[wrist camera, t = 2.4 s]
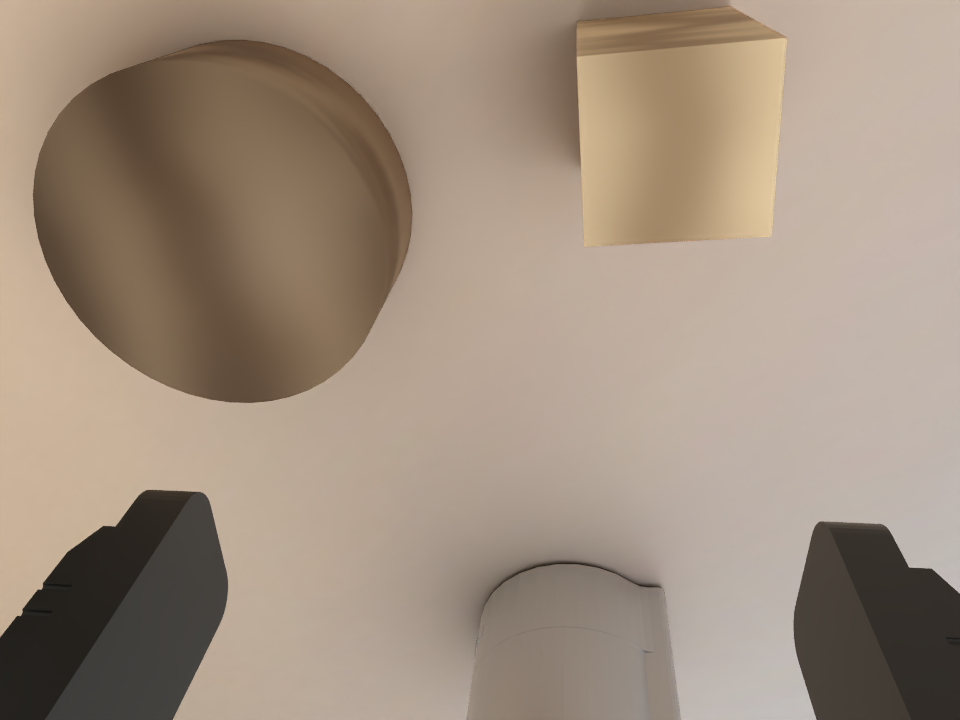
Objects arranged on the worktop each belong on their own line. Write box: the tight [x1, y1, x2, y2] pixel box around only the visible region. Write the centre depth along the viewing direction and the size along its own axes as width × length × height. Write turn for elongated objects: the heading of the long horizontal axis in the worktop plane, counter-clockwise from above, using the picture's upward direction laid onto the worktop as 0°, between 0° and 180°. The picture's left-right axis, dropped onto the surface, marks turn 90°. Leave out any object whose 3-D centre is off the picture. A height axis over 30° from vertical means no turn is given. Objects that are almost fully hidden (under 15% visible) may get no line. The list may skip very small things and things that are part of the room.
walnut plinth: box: [33, 40, 412, 403], centre depth 29 cm, size 12×12×5 cm
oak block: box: [577, 7, 787, 247], centre depth 24 cm, size 5×5×8 cm
